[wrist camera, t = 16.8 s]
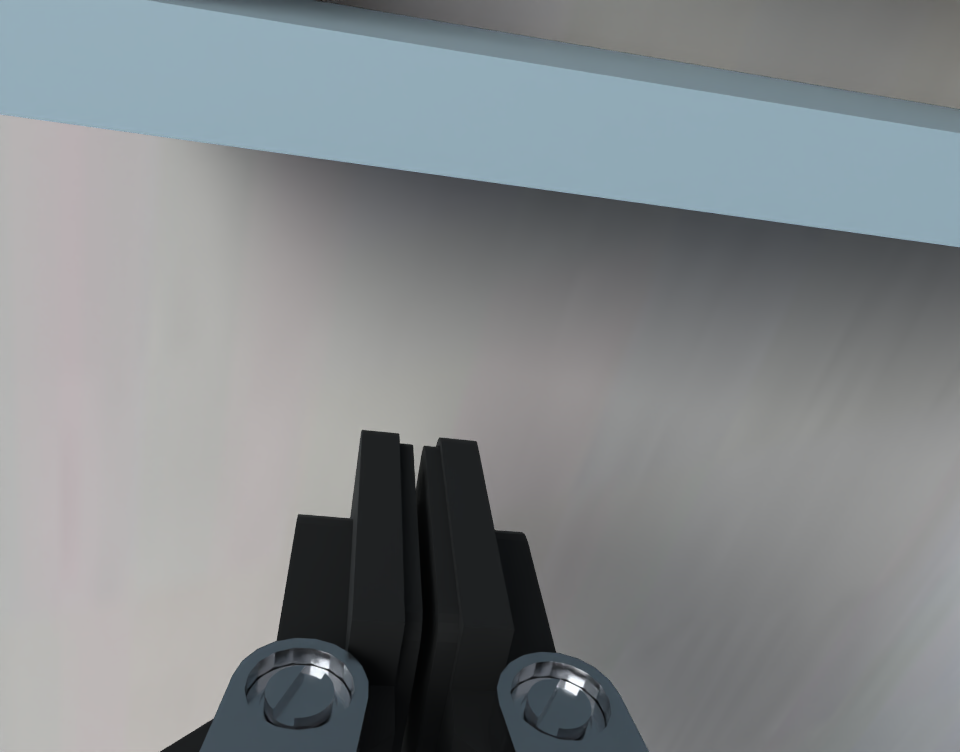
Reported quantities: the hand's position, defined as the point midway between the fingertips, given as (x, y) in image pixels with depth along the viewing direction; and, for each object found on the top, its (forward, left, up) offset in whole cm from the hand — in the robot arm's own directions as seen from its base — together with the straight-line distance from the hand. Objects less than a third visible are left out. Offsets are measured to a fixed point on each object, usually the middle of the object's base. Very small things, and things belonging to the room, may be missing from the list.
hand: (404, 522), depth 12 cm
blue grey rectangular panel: (+6, -3, -3) cm, 8 cm away
